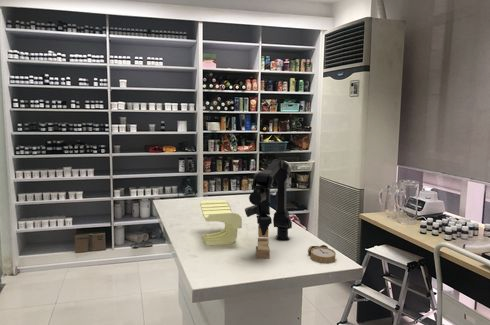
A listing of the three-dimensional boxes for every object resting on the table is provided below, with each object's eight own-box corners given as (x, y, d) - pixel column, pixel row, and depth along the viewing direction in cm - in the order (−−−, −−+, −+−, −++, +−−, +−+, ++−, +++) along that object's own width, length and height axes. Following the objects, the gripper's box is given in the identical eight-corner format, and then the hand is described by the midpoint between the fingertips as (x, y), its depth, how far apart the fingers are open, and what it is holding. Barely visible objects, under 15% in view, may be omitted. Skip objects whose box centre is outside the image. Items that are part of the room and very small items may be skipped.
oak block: (257, 246, 181) (257, 238, 181) (268, 246, 181) (268, 238, 181) (257, 250, 176) (257, 241, 176) (268, 250, 176) (268, 241, 176)
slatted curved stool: (241, 248, 189) (241, 213, 187) (209, 251, 185) (209, 214, 183) (228, 230, 218) (228, 199, 216) (200, 232, 214) (200, 200, 212)
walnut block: (255, 254, 182) (256, 246, 182) (268, 254, 182) (268, 246, 182) (256, 259, 176) (256, 250, 176) (269, 259, 176) (269, 250, 176)
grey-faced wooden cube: (258, 234, 180) (258, 223, 179) (267, 234, 180) (267, 223, 179) (258, 237, 176) (258, 226, 175) (268, 237, 176) (268, 226, 175)
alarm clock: (317, 258, 169) (304, 242, 183) (316, 268, 171) (303, 251, 185) (340, 256, 172) (325, 240, 186) (339, 266, 174) (324, 249, 188)
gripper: (245, 195, 185) (245, 227, 187) (246, 205, 166) (245, 240, 168) (268, 196, 185) (268, 227, 187) (272, 205, 167) (271, 240, 169)
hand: (263, 233), depth 178 cm, fingers closed on grey-faced wooden cube, 4 cm apart
